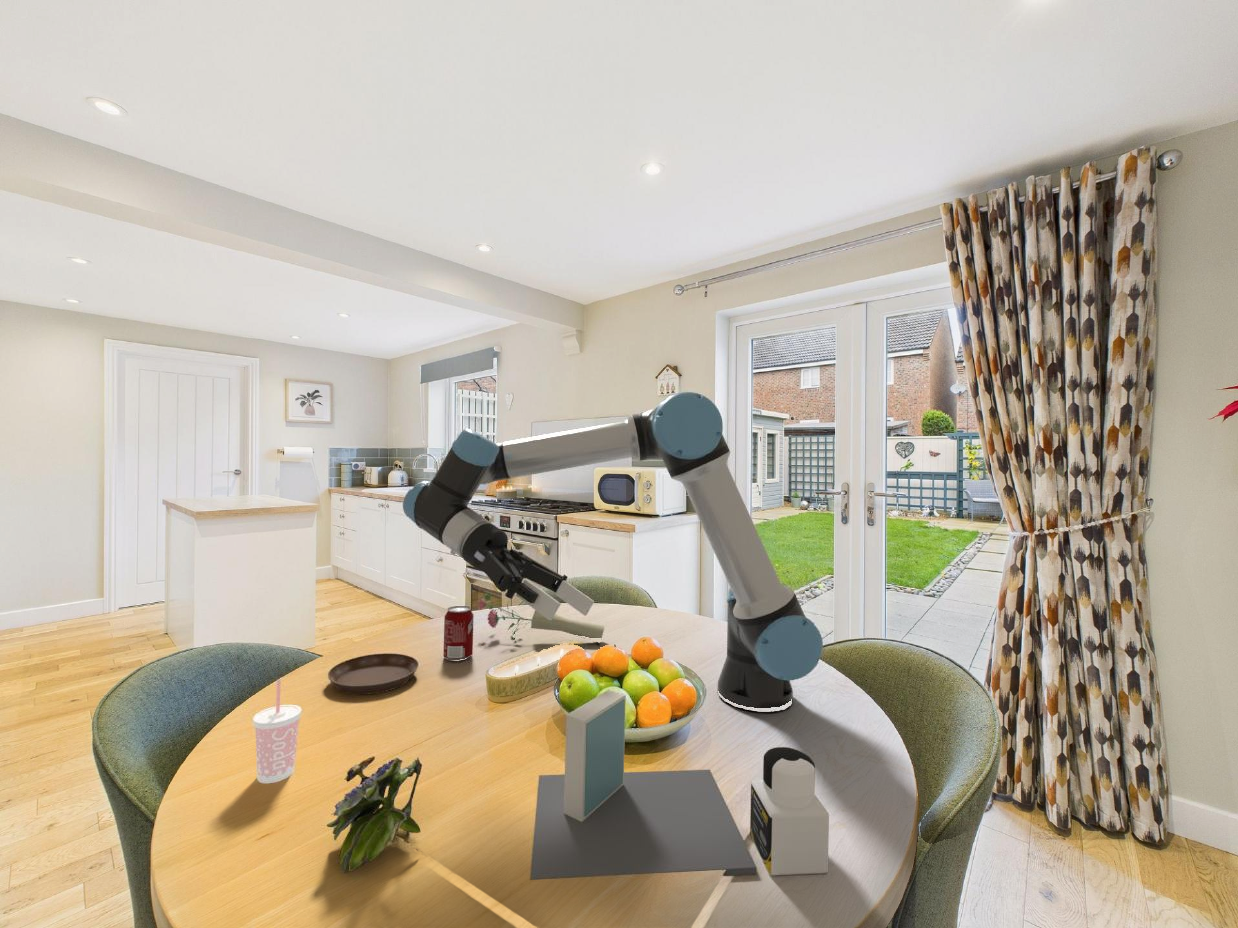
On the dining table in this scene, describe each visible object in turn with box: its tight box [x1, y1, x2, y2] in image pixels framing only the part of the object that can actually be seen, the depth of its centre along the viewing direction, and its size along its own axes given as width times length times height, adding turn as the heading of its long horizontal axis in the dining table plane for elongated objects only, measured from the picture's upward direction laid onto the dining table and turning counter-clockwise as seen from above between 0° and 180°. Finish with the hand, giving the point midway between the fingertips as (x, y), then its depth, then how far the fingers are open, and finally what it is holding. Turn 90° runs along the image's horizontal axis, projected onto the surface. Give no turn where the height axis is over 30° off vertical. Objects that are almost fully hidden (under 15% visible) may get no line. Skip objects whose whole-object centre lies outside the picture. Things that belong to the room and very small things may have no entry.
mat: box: [529, 769, 758, 881], centre depth 70 cm, size 26×20×1 cm
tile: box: [564, 689, 627, 822], centre depth 74 cm, size 3×10×13 cm, turn 147°
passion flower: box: [326, 755, 423, 873], centre depth 66 cm, size 11×11×12 cm
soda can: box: [443, 604, 475, 661], centre depth 128 cm, size 7×7×12 cm
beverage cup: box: [252, 678, 303, 784], centre depth 79 cm, size 6×6×14 cm
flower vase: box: [477, 591, 605, 638], centre depth 143 cm, size 12×12×35 cm
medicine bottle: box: [749, 746, 830, 876], centre depth 65 cm, size 7×7×12 cm
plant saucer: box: [327, 652, 420, 695], centre depth 114 cm, size 18×18×3 cm
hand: (574, 610), depth 82 cm, fingers open, 13 cm apart
